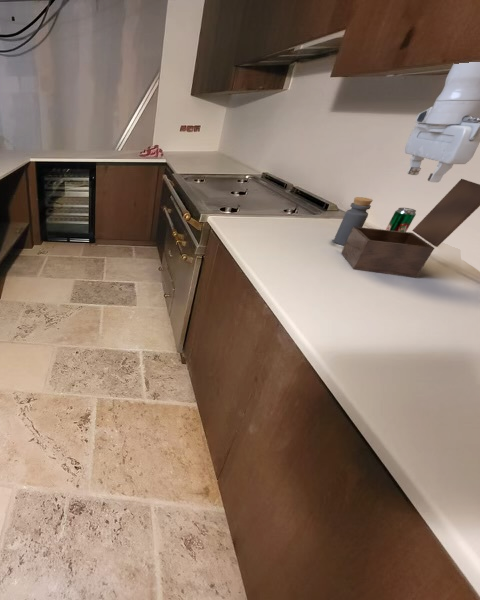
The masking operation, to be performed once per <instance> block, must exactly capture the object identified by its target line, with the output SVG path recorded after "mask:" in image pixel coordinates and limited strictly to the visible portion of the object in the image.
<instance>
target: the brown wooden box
mask: <svg viewBox="0 0 480 600" xmlns="http://www.w3.org/2000/svg"><path fill="white" fill-rule="evenodd" d="M434 250H435V246H433V245H432V244H430V243H429V242H427V241H426V240H425V239H423V238H422V237H420V236H419V235H417V234H416V233H415V232H411V231H406V232H401V231H391V230H386V229H381V228H371V227H370V228H369V227H362V228H361V227H353V229H352V231H351V233H350V235H349V237H348V239H347V241H346V244H345V245H343V248H342V250H341V256H343V258H344V259H345V260H346V262H347V263H348V264H349V266H350V267H351V268H352V269H353V270H357V271H363V272H364V271H365V272H372V273H378V274H386V275H393V276H400V277H402V276H403V277H409V278H414V279H416V278H417V277H418V275H419V274H420V272H421V271H422V269H423V267H424V266H425V264H426V262H427V261H428V260H429V258H430V256H431V255H432V253H433V252H434Z"/></svg>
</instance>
